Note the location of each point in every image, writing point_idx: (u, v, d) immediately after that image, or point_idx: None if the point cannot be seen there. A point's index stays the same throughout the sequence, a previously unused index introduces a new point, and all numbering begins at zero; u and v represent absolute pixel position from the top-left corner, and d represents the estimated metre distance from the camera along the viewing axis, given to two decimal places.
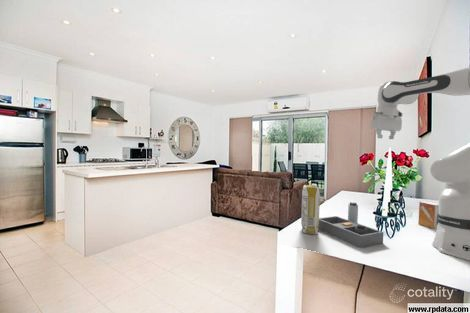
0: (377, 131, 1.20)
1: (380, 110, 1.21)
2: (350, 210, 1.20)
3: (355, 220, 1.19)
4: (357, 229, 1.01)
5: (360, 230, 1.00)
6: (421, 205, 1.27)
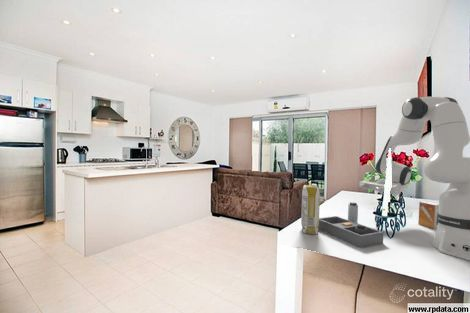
0: None
1: None
2: (350, 210, 1.20)
3: (355, 220, 1.19)
4: (357, 229, 1.01)
5: (360, 230, 1.00)
6: (421, 205, 1.27)
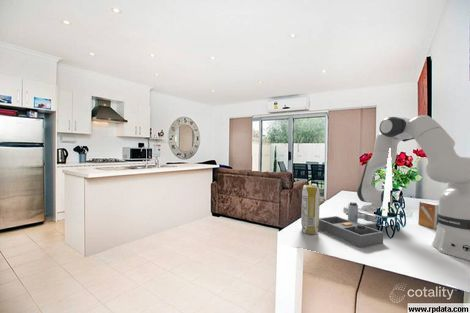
0: None
1: None
2: (350, 210, 1.20)
3: (355, 220, 1.19)
4: (357, 229, 1.01)
5: (360, 230, 1.00)
6: (421, 205, 1.27)
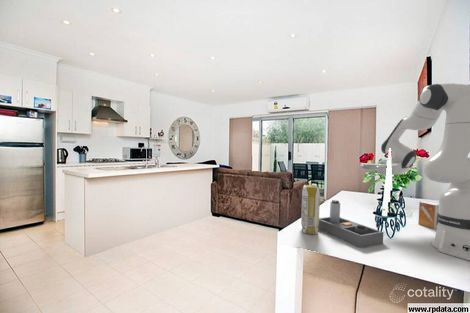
0: None
1: None
2: (332, 208, 1.15)
3: (337, 219, 1.14)
4: (357, 229, 1.01)
5: (360, 230, 1.00)
6: (421, 205, 1.27)
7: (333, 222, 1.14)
